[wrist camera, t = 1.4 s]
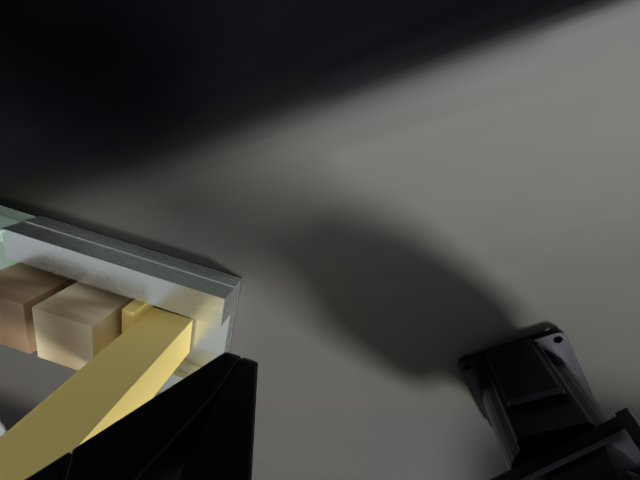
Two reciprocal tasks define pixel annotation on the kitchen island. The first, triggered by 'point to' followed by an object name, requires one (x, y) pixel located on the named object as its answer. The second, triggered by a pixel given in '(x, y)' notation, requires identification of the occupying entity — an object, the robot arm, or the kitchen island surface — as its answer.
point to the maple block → (77, 323)
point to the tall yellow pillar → (99, 390)
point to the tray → (8, 217)
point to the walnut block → (24, 302)
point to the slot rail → (135, 280)
